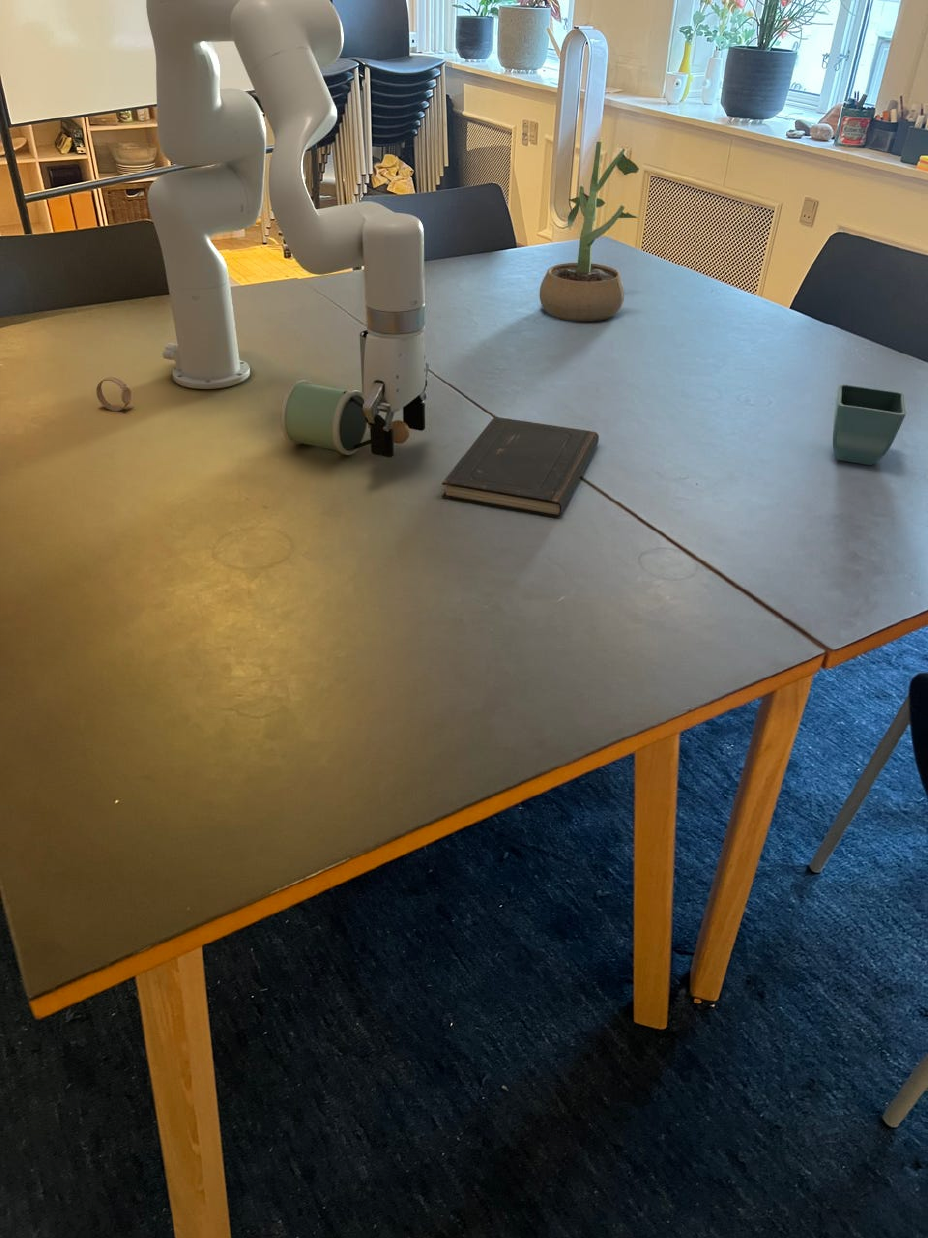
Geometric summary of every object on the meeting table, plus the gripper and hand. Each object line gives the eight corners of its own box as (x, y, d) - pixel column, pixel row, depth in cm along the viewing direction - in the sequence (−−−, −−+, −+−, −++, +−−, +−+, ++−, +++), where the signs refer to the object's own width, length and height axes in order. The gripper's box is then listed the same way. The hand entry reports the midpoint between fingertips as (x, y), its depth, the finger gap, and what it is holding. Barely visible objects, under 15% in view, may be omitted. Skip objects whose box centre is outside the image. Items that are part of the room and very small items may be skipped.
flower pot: (886, 449, 140) (904, 391, 135) (888, 474, 133) (906, 414, 128) (824, 440, 142) (839, 382, 137) (822, 464, 135) (838, 404, 130)
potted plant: (623, 328, 183) (642, 157, 166) (531, 319, 187) (541, 151, 169) (633, 295, 201) (652, 138, 184) (549, 288, 205) (560, 133, 187)
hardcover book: (442, 497, 125) (442, 482, 124) (493, 430, 143) (494, 416, 141) (560, 518, 121) (561, 502, 120) (598, 446, 139) (599, 432, 137)
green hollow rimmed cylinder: (284, 453, 135) (278, 392, 130) (316, 429, 142) (312, 371, 137) (394, 476, 129) (392, 414, 124) (422, 451, 136) (422, 391, 131)
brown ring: (126, 413, 146) (119, 382, 143) (97, 411, 146) (90, 379, 143) (134, 407, 148) (128, 376, 145) (106, 404, 148) (99, 373, 146)
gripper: (399, 296, 129) (402, 414, 139) (336, 333, 116) (344, 461, 126) (449, 303, 127) (448, 423, 137) (391, 342, 114) (395, 471, 124)
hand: (398, 441), depth 132 cm, fingers open, 9 cm apart
